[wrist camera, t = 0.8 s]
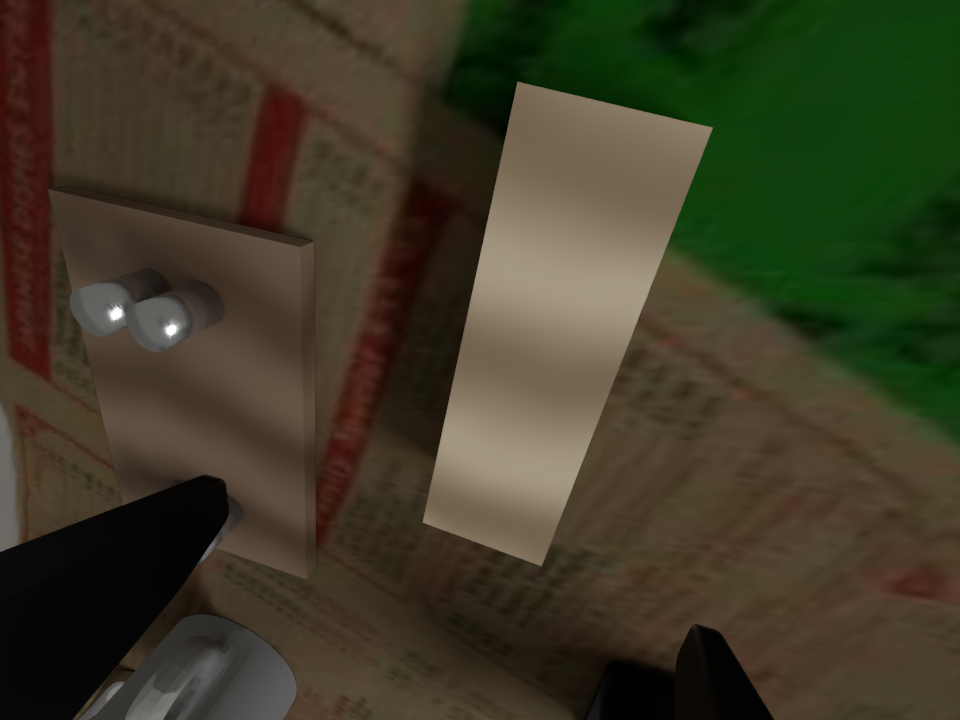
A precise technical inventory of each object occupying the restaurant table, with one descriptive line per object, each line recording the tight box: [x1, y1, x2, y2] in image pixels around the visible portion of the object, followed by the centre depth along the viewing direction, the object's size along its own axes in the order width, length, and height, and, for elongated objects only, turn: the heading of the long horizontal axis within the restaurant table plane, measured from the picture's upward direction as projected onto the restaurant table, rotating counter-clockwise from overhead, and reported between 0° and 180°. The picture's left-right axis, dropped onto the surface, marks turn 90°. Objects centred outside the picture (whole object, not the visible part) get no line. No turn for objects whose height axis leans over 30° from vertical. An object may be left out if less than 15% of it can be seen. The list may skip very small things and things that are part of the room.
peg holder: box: [48, 187, 316, 580], centre depth 24 cm, size 19×12×4 cm, turn 172°
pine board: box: [423, 82, 712, 566], centre depth 18 cm, size 16×5×4 cm, turn 168°
